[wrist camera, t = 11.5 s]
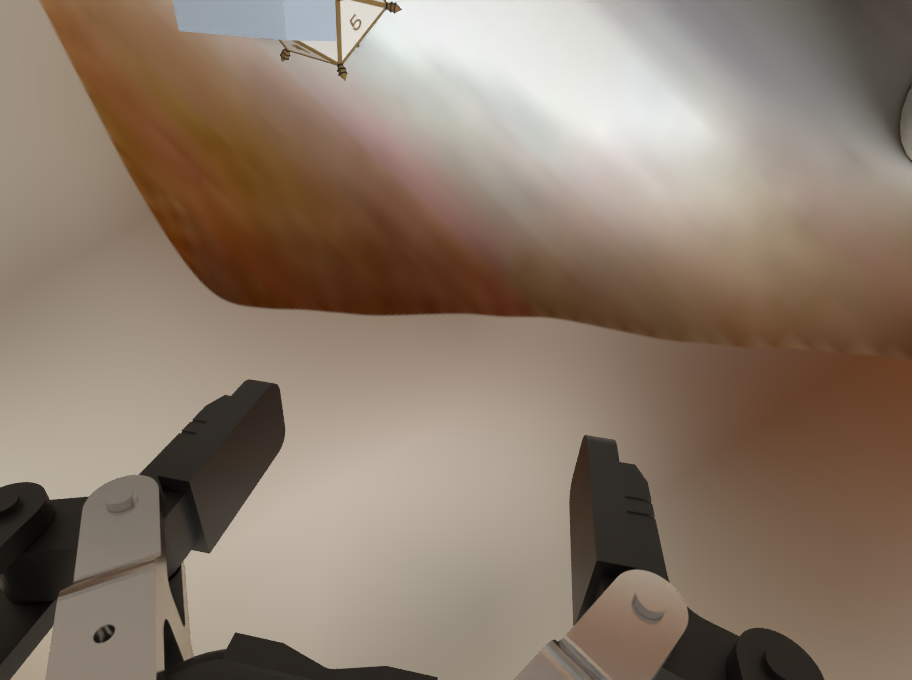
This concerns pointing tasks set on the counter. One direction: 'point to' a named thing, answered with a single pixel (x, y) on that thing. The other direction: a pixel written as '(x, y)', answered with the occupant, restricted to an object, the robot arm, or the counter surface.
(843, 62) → the counter surface
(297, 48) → the game die
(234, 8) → the slate block
